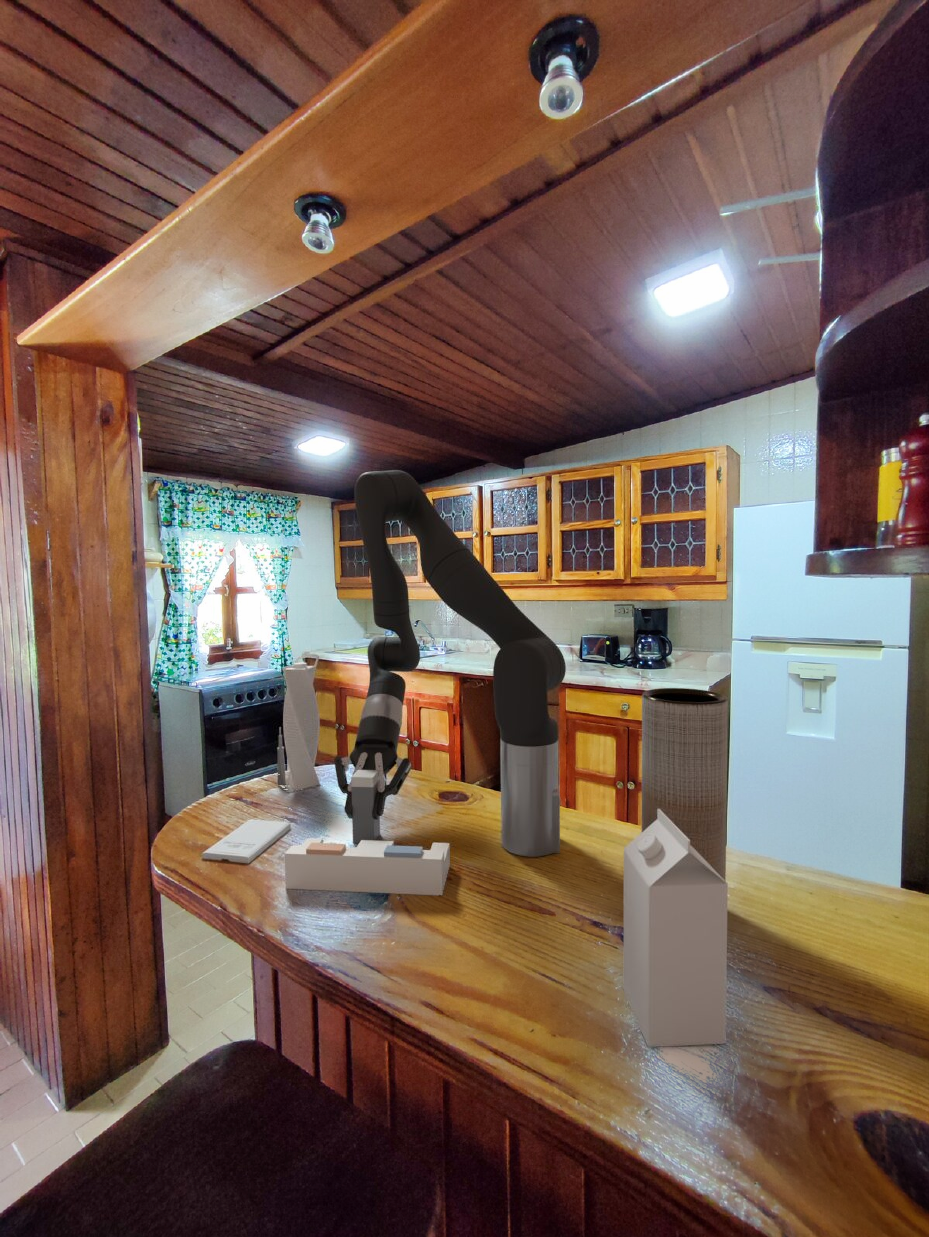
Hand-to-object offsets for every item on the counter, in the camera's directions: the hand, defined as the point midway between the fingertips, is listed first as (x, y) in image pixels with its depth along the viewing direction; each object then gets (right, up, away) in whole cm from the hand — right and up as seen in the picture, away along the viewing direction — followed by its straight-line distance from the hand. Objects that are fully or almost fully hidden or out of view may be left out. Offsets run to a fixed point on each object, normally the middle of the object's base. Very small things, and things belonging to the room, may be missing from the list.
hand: (362, 816), depth 90 cm
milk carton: (+36, -6, -37) cm, 52 cm away
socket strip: (+3, -5, -10) cm, 12 cm away
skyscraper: (-18, -4, +28) cm, 34 cm away
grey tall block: (0, -4, +2) cm, 5 cm away
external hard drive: (-19, -6, +1) cm, 20 cm away
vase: (+44, -5, -19) cm, 49 cm away
